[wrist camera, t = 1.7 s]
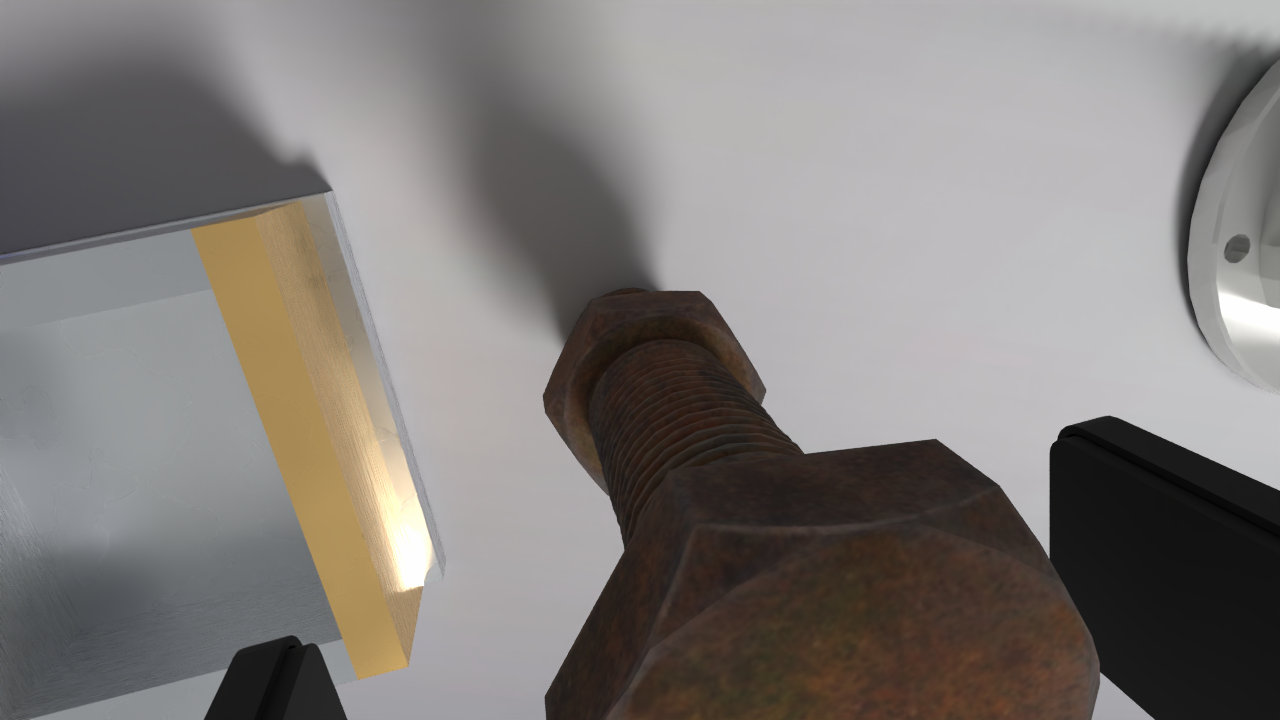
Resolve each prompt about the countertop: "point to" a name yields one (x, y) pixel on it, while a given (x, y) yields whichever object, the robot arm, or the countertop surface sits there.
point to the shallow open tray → (198, 465)
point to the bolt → (791, 552)
